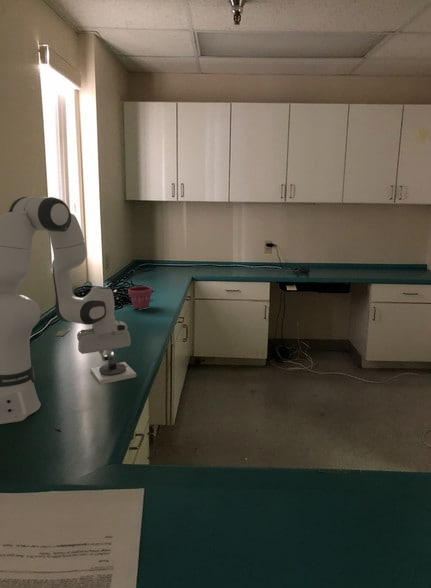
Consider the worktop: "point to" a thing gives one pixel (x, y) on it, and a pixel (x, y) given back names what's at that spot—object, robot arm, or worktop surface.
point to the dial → (112, 367)
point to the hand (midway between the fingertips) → (105, 360)
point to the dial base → (112, 378)
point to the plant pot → (140, 296)
